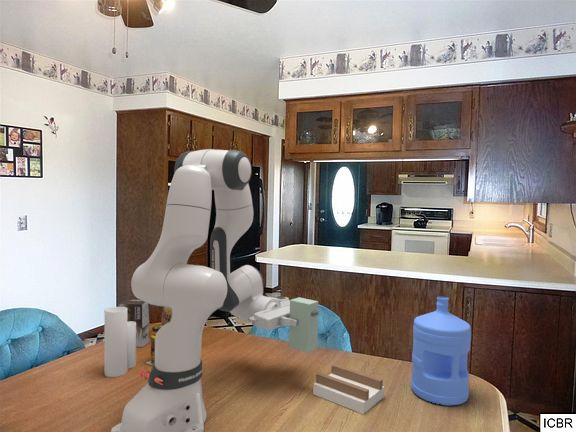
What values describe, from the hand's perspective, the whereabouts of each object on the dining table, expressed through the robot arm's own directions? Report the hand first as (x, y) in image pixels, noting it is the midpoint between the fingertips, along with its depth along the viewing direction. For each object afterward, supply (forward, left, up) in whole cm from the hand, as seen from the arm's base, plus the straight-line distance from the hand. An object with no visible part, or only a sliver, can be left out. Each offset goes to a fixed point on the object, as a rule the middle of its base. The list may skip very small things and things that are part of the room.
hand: (303, 320), depth 118 cm
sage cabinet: (0, 0, -8) cm, 8 cm away
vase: (-29, +51, -20) cm, 62 cm away
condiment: (-16, +47, -20) cm, 54 cm away
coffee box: (-14, +68, -20) cm, 72 cm away
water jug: (+24, -32, -20) cm, 45 cm away
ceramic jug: (+1, +61, -20) cm, 64 cm away
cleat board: (+5, -13, -20) cm, 24 cm away
